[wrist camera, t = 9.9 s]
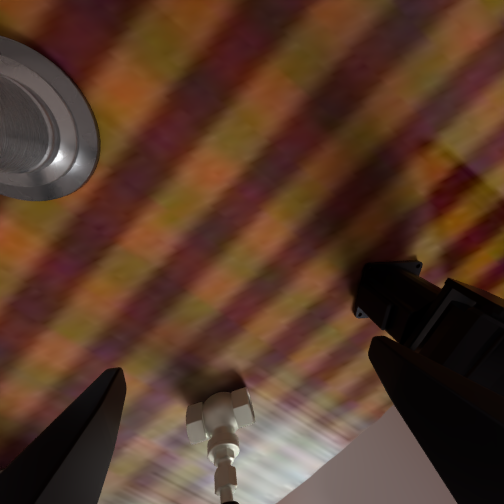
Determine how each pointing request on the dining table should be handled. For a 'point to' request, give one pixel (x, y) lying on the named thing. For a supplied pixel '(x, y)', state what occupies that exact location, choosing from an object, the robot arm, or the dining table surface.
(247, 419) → the valve
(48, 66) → the silver flat disc
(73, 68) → the dining table surface
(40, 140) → the grey piece
